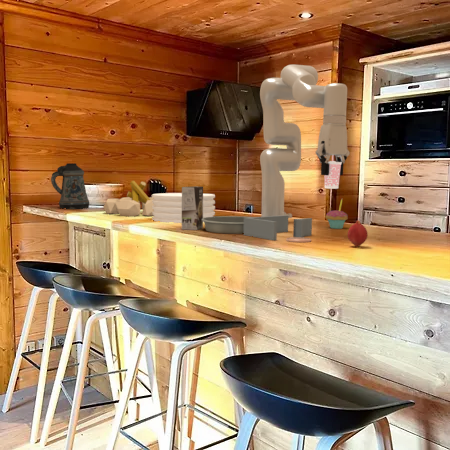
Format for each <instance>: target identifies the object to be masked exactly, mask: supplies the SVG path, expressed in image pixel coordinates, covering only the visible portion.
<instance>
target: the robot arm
mask: <svg viewBox="0 0 450 450" xmlns="http://www.w3.org/2000/svg"><path fill="white" fill-rule="evenodd" d="M318 80H319V74H318V71H317V69H316V68H315V67H313V66H312V65H306V64H305V65H303V64H288V65H286V66H284V67H283V69H282V70H281V72H280V77H268V78H266V79H264V80H263V81H262V83H261V85H260V88H259V89H260V91H259V98H260V103H261V107H262V114H263V117H262V118H263V119H262V120H263V125H262V126H263V140H264V142H265V144H268V145H271V146H286V148H278V147H276V148H275V147H271V148H266V149H264V150H263V151H262V152H261V153H260V156H259V157H260V158H259V160H260V161H259V162H260V169H261V215H260V217H266V216H284V215H287V216H288V219H290V218H293V214H292V213H287V212H286V211H285V183H286V182H285V179H284V176H283V175H282V174H281V172H295V171H297V170H298V169H299V168H300V167H301V164H302V133H301V129H300V127H299V125H298V124H297V123H294V122H285V119H284V118H285V116H284V115H285V112H284V109H283V107H282V105H281V104H280V102H279V101H278V100H282V101H295V102H296V103H298V104H299V105H300V106H302V107H305V108H315V109H323V117H322V124H321V126H320V129H319V135H318V141H317V149H316V150H315V155H316V156H317V157H318V160H319V163H320V165H321V166H320V168H321V169H320V175H321V176H324V175H329V163H328V162H329V161H330V157H331V156H332V155H334V156H335V161H336V162H342V163H341V168H340V176H343V175H344V164H345V163H346V160H347V159H348V157H349V156H350V151H349V149H348V131H347V130H348V129H347V126H346V125H347V105H348V104H347V103H348V102H347V101H348V87H347V85H346V84H345V83H339V82H338V83H328V84H326V85H319V84H317V83H318Z"/></svg>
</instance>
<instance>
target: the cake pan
mask: <svg viewBox="0 0 450 450" xmlns="http://www.w3.org/2000/svg"><path fill="white" fill-rule="evenodd" d="M249 217H250V216H243V215H242V216H239V215H238V216H237V215H226V216H225V215H221V216H219V215H218V216H215V215H214V216H213V217H206V218H202V221H204V222H203V224H204V227H205V231H207V232H208V233H209V232H210V233H216V234H234V235H236V234H237V235H241V234H242V233H244V218H249Z"/></svg>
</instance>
